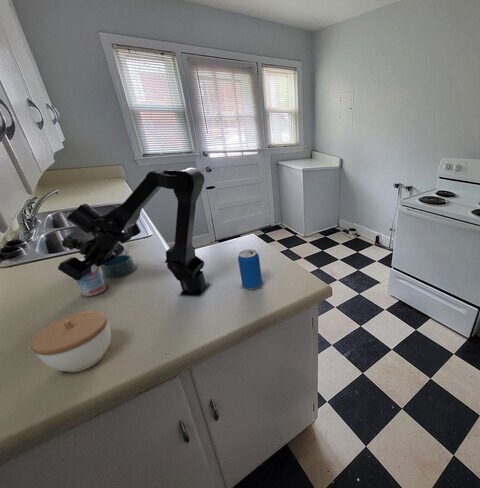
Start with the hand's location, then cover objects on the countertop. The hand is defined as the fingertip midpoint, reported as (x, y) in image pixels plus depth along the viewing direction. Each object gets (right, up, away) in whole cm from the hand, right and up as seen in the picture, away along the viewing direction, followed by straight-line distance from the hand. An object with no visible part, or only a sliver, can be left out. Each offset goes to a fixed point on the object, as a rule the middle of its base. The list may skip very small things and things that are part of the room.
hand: (83, 273), depth 86 cm
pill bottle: (+1, -6, +3) cm, 7 cm away
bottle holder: (+1, -1, +15) cm, 15 cm away
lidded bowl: (+21, -17, -23) cm, 36 cm away
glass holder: (-9, +4, +25) cm, 27 cm away
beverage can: (+53, -4, +5) cm, 53 cm away
